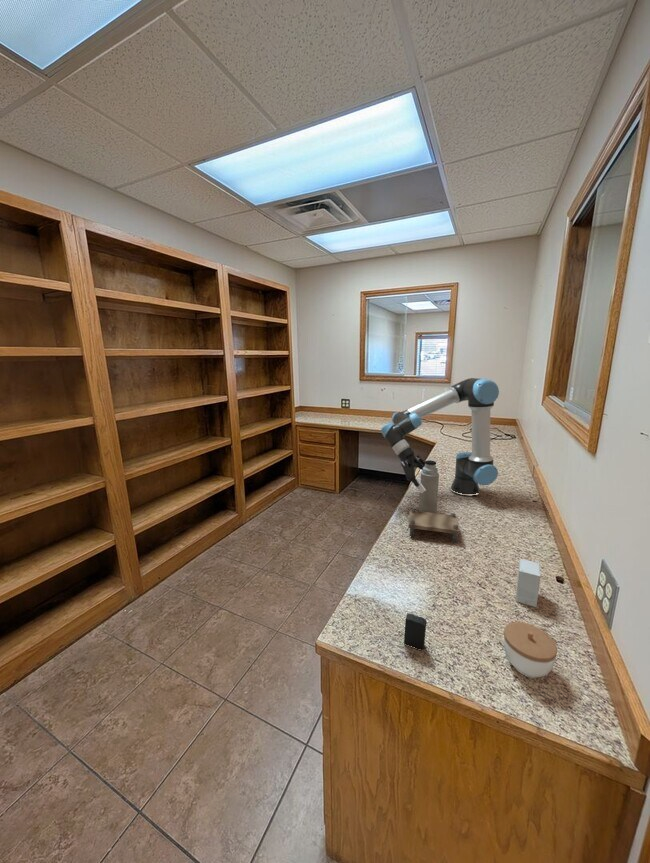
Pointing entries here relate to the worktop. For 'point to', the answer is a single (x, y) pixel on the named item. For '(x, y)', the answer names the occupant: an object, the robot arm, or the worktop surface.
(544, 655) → the lidded jar
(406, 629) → the ink cartridge
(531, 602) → the small box
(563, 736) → the worktop surface
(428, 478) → the thermos bottle
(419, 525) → the peg shelf
